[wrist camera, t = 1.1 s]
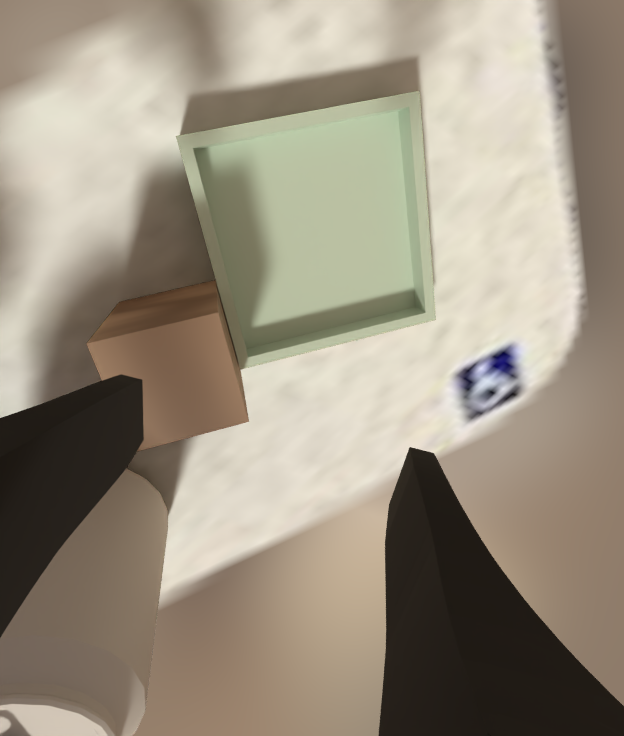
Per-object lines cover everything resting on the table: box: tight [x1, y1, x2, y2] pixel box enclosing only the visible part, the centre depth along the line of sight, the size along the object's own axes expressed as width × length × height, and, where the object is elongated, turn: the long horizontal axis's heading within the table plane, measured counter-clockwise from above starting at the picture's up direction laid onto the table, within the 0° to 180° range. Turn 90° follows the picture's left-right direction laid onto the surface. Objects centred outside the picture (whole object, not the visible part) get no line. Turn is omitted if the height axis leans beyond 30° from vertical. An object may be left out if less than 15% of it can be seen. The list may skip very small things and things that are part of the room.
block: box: [86, 280, 249, 452], centre depth 19 cm, size 4×4×6 cm
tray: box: [176, 91, 436, 370], centre depth 20 cm, size 10×10×2 cm
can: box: [0, 469, 168, 736], centre depth 19 cm, size 8×8×12 cm
